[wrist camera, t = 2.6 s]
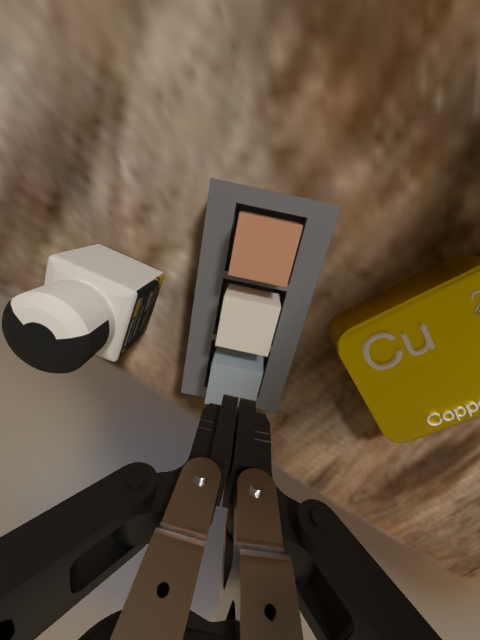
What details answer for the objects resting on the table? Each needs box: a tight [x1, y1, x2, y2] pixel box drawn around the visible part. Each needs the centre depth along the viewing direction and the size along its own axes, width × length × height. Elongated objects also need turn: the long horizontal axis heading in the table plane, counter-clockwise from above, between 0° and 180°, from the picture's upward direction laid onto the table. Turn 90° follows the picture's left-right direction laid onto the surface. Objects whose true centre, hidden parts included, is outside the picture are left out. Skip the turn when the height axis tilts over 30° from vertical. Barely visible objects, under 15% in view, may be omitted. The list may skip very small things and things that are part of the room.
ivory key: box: [215, 283, 281, 357], centre depth 24 cm, size 4×4×4 cm
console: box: [181, 178, 341, 412], centre depth 27 cm, size 10×20×4 cm, turn 169°
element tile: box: [329, 254, 480, 443], centre depth 27 cm, size 15×15×5 cm
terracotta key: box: [228, 211, 303, 287], centre depth 21 cm, size 4×4×4 cm
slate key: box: [205, 346, 263, 409], centre depth 26 cm, size 4×4×4 cm
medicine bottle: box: [2, 244, 164, 373], centre depth 24 cm, size 7×7×12 cm
